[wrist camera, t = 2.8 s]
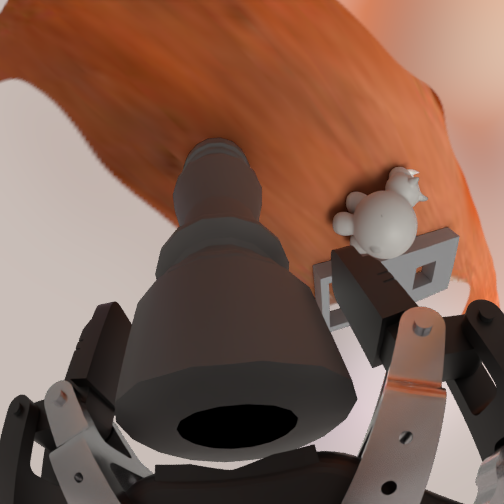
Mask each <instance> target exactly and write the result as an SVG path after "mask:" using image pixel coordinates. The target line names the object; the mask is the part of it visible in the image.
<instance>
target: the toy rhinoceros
mask: <svg viewBox="0 0 504 504" xmlns="http://www.w3.org/2000/svg"><path fill="white" fill-rule="evenodd" d="M417 173H419V172H418V171H416V170H413V169H408V170H407V169H405V168H404V167H396V168H394V169H392V170H391V172H390V174H389V180H388V181H387V183H386V186H385V191H377V192H374V193H371V194H369V195H368V196H367V195H365V194H364V193H361V192H352V193H350V194H349V195H348V196H347V199H346V207H347V209H348V211H349V212H351V213H353V214H351V213H348V212H339V213H337V214H336V215H335V216H334V218H333V229H334V231H335V232H336V233H337V234H339V235H344V236H348V235H352V236H351V238H350V245H352V246H354V247H355V248H356V250H357V251H358V252H359V253H360V254H366V253H368V254H369V255H371V256H373V257H376V258H380V259H392V258H396V257H398V256H400V255H402V254H403V253H405V252H406V251H407V250H408V249H409V248H410V247H411V245H412V244H413V242H414V240H415V237H416V233H417V218H416V215H415V212H414V210H413V208H412V207H413V206H415V204H416V203H417V202H418V201H427V200H428V198H427V197H426V196H424V195H422V194H421V192H420V189H419V185H418V181H419V178H418V177H414V176H413V175H414V174H417Z"/></svg>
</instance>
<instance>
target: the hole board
mask: <svg viewBox="0 0 504 504" xmlns="http://www.w3.org/2000/svg"><path fill="white" fill-rule="evenodd" d="M458 241H459V235H457V234H456V233H455V232H453V231H452V230H451V229H449V228H448V227H446V228H443V229H440V230H436V231H433V232H430V233H426V234H423V235H420V236H416V237H415V240H414V242H413V244H412V245H411V247H410V248H409V249H408V250H407V251H406V252H405V253H403V254H402V255H400V256H398V257H396V258H392V259H380V258H376V257H373V256H371V255H369V254H368V253H366V254H361V255H362V257H363V256H367V255H369V256H371V257H373V258H375V259H377V260H379V261H380V262H381V263H382V264H383V265H384V266H385V267H386V268H387V270H388V272H390V273H391V274H392V275H393V276H394V279H396V280H397V281H398V282H399V283H400V285H401V286H402V287H403V288H404V289H405V291H406V292H407V293H408V294H409V295H410V297H411V298H412V299H413V300H414V302H417V301H419V300H422V299H424V298H426V297H429V296H431V295H433V294H436V293H438V292H440V291H443V290H445V289H447V288H448V284H449V281H450V277H451V273H452V269H453V265H454V260H455V256H456V251H457V246H458ZM421 266H422V271H421V272H419V273H416V268H418V267H421ZM313 273H314V285H315V297H316V302H317V304H318V307H319V309H320V311H321V313H322V315H323V317H324V319H325V321H326V324H327V326H328V328H329V330H330V332H332V331H335V330H338V329H342V328H345V327H348V326H350V324H349V323H348V321H347V319H346V317H345V315H344V313H343V312H342V310H341V308H339V309H336V310H333V311H330V310H329V309H330V306H329V283H332V267H331V261H327V262H323V263H319V264H316V265H313ZM415 273H416V274H415Z"/></svg>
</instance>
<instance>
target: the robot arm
mask: <svg viewBox="0 0 504 504" xmlns="http://www.w3.org/2000/svg"><path fill="white" fill-rule="evenodd" d="M331 267H332V287H333V292H334V296H335V298H336V301H337V303H338V304H339V306H340V308H341V310H342V312H343V313H344V315H345V317H346V319H347V321H348V323H349V324H350V326H351V328H352V330H353V332H354V334H355V336H356V337H357V339H358V341H359V343H360V345H361V347H362V349H363V351H364V352H365V355H366V356H367V358H368V360H369V362H370V364H371V366H372V368H374V367H377V366H379V365H382V364H383V366H384V368H385V370H386V374H385V377H384V381H383V384H382V388H381V391H380V395H379V398H378V401H377V405H376V408H375V411H374V414H373V417H372V420H371V423H370V425H369V428H368V430H367V433H366V435H365V438H364V441H363V443H362V446H361V448H360V451H359V453H358V455H357V457H356V456H354V455H349V454H346V453H340V452H329V451H320V452H316V448H315V445H310V446H306V447H302V448H298V449H294V450H290V451H286V452H281V453H276V454H272V455H270V456H268V457H265V458H263V459H260V460H258V461H256V462H253V463H251V464H248V465H246V466H243V467H240V468H237V469H234V470H223V469H215V468H209V467H203V466H197V465H192V464H186V465H155V474H153V473H152V472H151V471H150V470H149V469H148V468H147V467H145V466H144V465H143V464H142V463H141V462H140V461H139V459H138V458H137V456H136V455H135V453H134V452H133V450H132V449H131V447H130V446H129V444H128V443H127V441H126V440H125V438H124V436H123V435H122V433H121V431H120V430H119V428H118V426H117V425H116V424H115V423H114V422H113V418H114V416H116V412H115V399H116V393H117V388H118V383H119V378H120V373H121V368H122V364H123V359H124V355H125V351H126V346H127V342H128V338H129V334H130V330H131V326H132V324H131V323H130V321H129V319H128V318H127V316H126V315H125V313H124V311H123V310H122V308H121V306H120V305H119V304H118V303H117V302H110V303H106V304H101V305H98V306H97V308H96V310H95V312H94V315H93V317H92V319H91V320H90V321H89V323H88V324H87V325H86V326H85V328H84V329H83V331H82V333H81V336H80V338H79V342H78V344H77V346H76V351H74V354H73V357H72V360H71V362H70V365H69V368H68V372H67V374H66V377H65V380H63V381H58V382H56V383H55V384H53V385H52V386H51V387H50V388H49V390H48V391H47V393H46V395H45V399H44V400H41V401H38V402H36V403H33V402H32V401H31V400H30V399H29V398H28V397H27V396H25V395H19V396H17V397H16V398H14V400H13V401H12V402H11V404H10V406H9V408H8V411H7V415H6V419H5V422H4V427H3V430H2V434H1V439H0V504H463V503H460V502H457V501H454V500H451V499H449V498H446V497H443V496H441V495H438V494H436V493H433V492H431V491H428V490H426V489H425V488H426V485H427V482H428V479H429V476H430V473H431V469H432V465H433V462H434V459H435V455H436V451H437V446H438V442H439V438H440V433H441V428H442V423H443V418H444V412H445V405H446V396H447V394H446V389H445V388H442V382H444V381H446V383H447V385H448V387H449V389H450V390H451V392H452V394H453V396H454V398H455V400H456V402H457V404H458V406H459V408H460V411H461V412H462V414H463V417H464V419H465V421H466V423H467V425H468V428H469V430H470V432H471V434H472V437H473V439H474V441H475V444H476V446H477V449H478V451H479V454H480V456H481V459H482V461H483V462H482V464H481V466H480V468H479V470H478V474H477V477H476V485H477V486H478V494H477V497H476V500H475V502H474V504H504V314H503V312H502V311H501V310H500V309H499V308H498V307H497V306H496V305H495V304H494V303H492V302H490V301H487V300H475V301H473V302H471V303H470V304H469V306H468V308H467V310H466V313H465V314H464V315H457V316H450V317H442V316H441V315H440V314H439V313H438V312H436V311H435V310H433V309H431V308H427V307H419V306H418V305H417V304H416V303H415V302H414V300H413V299H412V298H411V297H410V295H409V294H408V293H407V292H406V291H405V289H404V288H403V287H402V286H401V285H400V283H399V282H398V281H397V280H396V279H394V276H393V275H392V274H391V273H390V272H388V270H387V268H386V267H385V266H384V265H383V264H382V263H381V262H380V261H379V260H377V259H375V258H373V257H371V256H369V255H367V256H363V257H362V255H361V254H360V253H359V252H358V251H357V250H356V248H355V247H354V246H352V245H350V246H346V247H343V248H339V249H335V250H332V252H331ZM482 362H483V364H484V365H485V367H486V368H487V370H488V372H489V373H490V375H491V377H492V378H493V380H494V382H495V384H496V386H495V385H494V383H493V381H492V379H491V378H490V376H489V374H488V373H487V371H486V369H485V368H484V366H483V365H482ZM34 441H35V442H37V443H38V444H40V445H41V446H43V447H44V448H45V452H44V458H43V466H42V475H41V478H40V477H38V476H37V475H35V474H34V473H33V471H32V470H31V467H30V460H31V453H32V447H33V442H34Z"/></svg>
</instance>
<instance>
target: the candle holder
mask: <svg viewBox="0 0 504 504" xmlns="http://www.w3.org/2000/svg"><path fill="white" fill-rule="evenodd" d="M173 200H174V207H175V213H176V216H177V219H178V222H179V225H180V227H178V228H177V230H176V231H175V232H174V233H173V234H172V236H171V237H170V238H169V239H168V241H167V242H166V243H165V244H164V245H163V247H162V249H161V251H160V256H159V260H158V265H157V269H156V273H155V275H156V279H157V280H156V282H154V284H153V285H152V286H151V287H150V289H149V290H148V291H147V292H146V293H145V295H144V296H143V297H142V299H141V300H140V301H139V302H138V304H137V308H136V311H135V315H134V319H133V323H132V326H131V330H130V334H129V338H128V342H127V346H126V351H125V355H124V359H123V364H122V368H121V373H120V378H119V383H118V388H117V393H116V399H115V412H116V422H117V423H118V424H119V425H120V426H121V428H123V430H124V431H125V432H126V433H127V434H128V435H129V436H130V437H131V438H132V439H134V440H136V441H137V442H139V443H141V444H143V445H145V446H147V447H150V448H152V449H154V450H156V451H158V452H161V453H165V454H169V455H172V456H177V457H181V458H186V459H190V460H199V461H214V462H233V461H243V460H253V459H261V458H265V457H268V456H270V455H272V454H276V453H281V452H286V451H290V450H294V449H297V448H300V447H302V446H304V445H306V444H308V443H311V442H312V441H315V440H317V439H319V438H321V437H323V436H325V435H326V434H327V433H329V432H330V431H331V430H333V429H334V428H335V427H336V426H338V425H339V424H340V423H341V422H343V421H344V420H345V419H346V418H347V416H348V414H349V413H350V411H351V410H352V408H353V406H354V404H355V403H356V401H357V396H356V393H355V389H354V386H353V382H352V379H351V377H350V375H349V373H348V370H347V368H346V366H345V364H344V361H343V359H342V357H341V354H340V352H339V350H338V348H337V346H336V344H335V342H334V339H333V337H332V335H331V332H330V330H329V328H328V326H327V324H326V321H325V319H324V317H323V315H322V313H321V311H320V309H319V307H318V304H317V302H316V300H315V298H314V296H313V294H312V292H311V290H310V288H309V287H308V286H307V285H306V284H304V283H303V282H302V281H301V280H299V279H298V278H297V277H295V276H294V275H293V274H292V273H290V272H289V261H288V259H287V257H286V254H285V252H284V250H283V248H282V245H281V243H280V241H279V239H278V237H276V236H275V235H274V234H273V233H272V232H271V231H269V230H268V229H267V228H266V227H265V226H263V225H262V224H261V223H260V222H259V216H260V211H261V206H262V187H261V185H260V183H259V181H258V178H257V176H256V174H255V172H254V170H253V169H251V168H250V165H249V163H248V161H247V159H246V156H245V154H244V153H243V151H242V150H241V149H240V148H239V147H238V146H237V145H236V144H235V143H234V142H232V141H229V140H226V139H223V138H210V139H207V140H205V141H203V142H201V143H199V144H197V145H196V146H195V147H194V148H193V150H192V151H191V152H190V153H189V155H188V157H187V159H186V162H185V165H184V168H183V171H182V173H181V174H180V175H179V177H178V179H177V182H176V186H175V189H174V193H173Z"/></svg>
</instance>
